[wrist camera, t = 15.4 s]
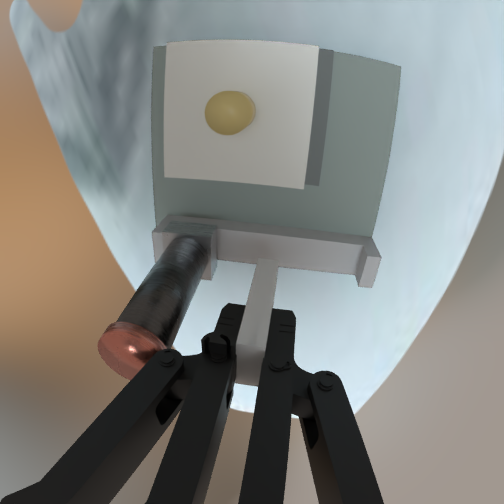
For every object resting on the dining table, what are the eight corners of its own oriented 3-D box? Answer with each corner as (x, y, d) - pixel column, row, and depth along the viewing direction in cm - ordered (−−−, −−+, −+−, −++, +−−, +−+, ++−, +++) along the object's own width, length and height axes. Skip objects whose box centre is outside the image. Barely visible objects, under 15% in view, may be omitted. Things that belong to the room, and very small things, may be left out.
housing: (209, 58, 16) (150, 36, 8) (307, 64, 15) (323, 38, 8) (205, 148, 19) (149, 188, 11) (298, 156, 18) (305, 202, 11)
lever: (171, 220, 20) (89, 327, 11) (217, 224, 20) (158, 344, 11) (174, 260, 21) (108, 374, 12) (217, 265, 21) (169, 390, 12)
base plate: (162, 49, 17) (133, 42, 13) (393, 68, 16) (418, 63, 12) (164, 233, 24) (142, 261, 20) (360, 255, 23) (371, 287, 19)
